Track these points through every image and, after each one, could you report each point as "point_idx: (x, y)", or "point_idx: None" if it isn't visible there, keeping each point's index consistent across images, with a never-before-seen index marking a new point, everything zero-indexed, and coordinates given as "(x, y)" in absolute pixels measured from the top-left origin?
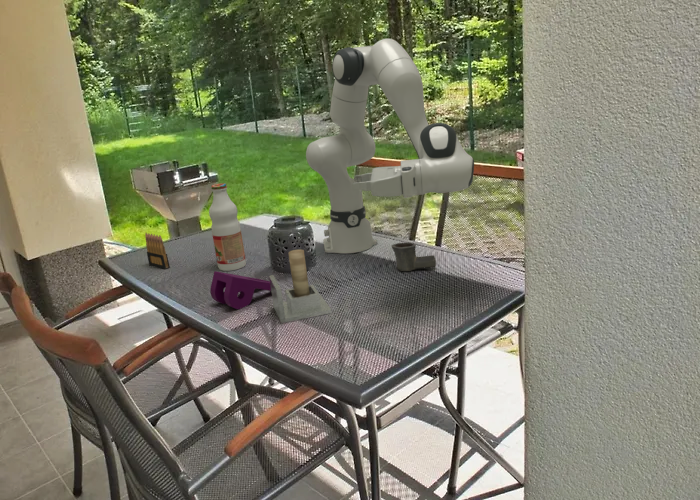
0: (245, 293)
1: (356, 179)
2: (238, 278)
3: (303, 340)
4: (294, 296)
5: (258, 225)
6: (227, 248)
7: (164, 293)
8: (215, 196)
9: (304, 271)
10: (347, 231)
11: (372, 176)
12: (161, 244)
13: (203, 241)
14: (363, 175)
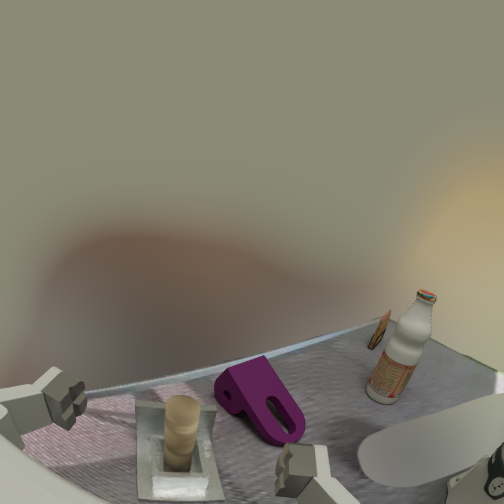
0: (231, 400)
1: (285, 460)
2: (231, 376)
3: (63, 436)
4: (196, 454)
5: (499, 387)
6: (379, 369)
7: (298, 350)
8: (413, 303)
9: (168, 438)
10: (478, 491)
11: (15, 455)
12: (379, 324)
13: (445, 361)
14: (321, 492)
